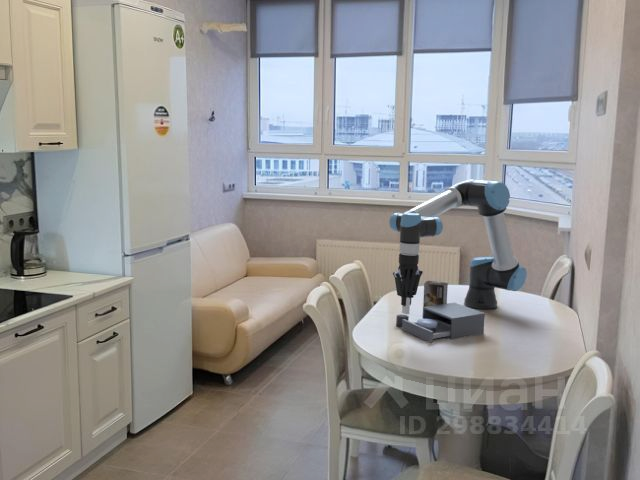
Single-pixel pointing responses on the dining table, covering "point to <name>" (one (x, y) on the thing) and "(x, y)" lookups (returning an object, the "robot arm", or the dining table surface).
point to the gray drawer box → (457, 319)
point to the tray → (427, 330)
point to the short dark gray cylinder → (399, 319)
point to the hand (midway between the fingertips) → (405, 313)
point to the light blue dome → (427, 323)
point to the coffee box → (435, 293)
